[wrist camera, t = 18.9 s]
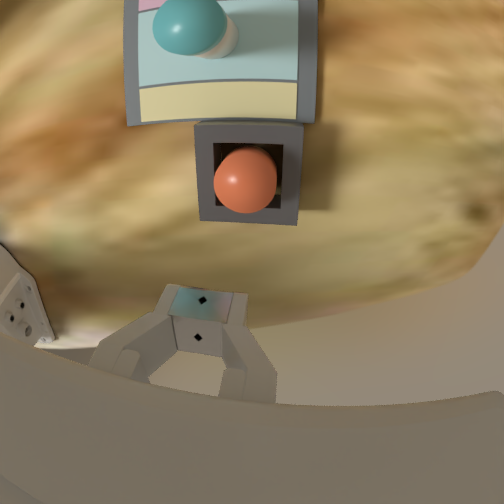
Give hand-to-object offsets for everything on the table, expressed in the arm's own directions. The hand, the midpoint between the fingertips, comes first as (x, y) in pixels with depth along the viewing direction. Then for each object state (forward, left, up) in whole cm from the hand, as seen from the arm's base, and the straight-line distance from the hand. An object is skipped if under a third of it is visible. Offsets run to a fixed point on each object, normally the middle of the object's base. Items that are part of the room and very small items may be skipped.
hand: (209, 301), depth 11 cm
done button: (0, 0, -15) cm, 15 cm away
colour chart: (+11, +3, -17) cm, 20 cm away
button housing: (0, 0, -17) cm, 17 cm away
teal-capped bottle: (+11, +3, -16) cm, 20 cm away
